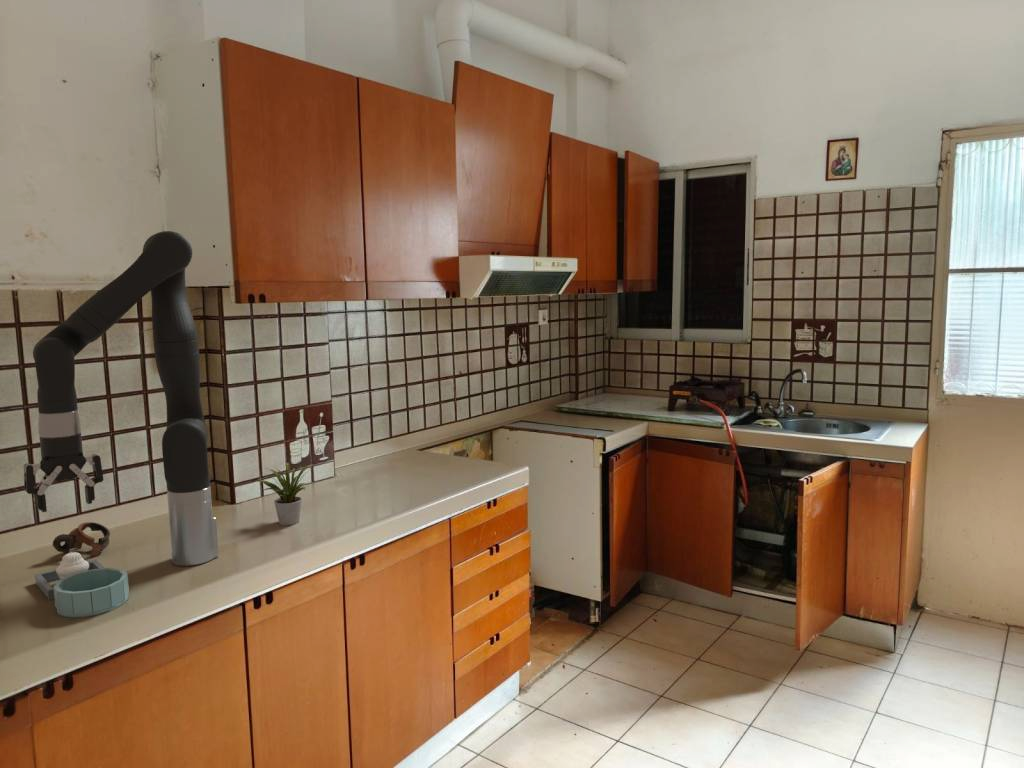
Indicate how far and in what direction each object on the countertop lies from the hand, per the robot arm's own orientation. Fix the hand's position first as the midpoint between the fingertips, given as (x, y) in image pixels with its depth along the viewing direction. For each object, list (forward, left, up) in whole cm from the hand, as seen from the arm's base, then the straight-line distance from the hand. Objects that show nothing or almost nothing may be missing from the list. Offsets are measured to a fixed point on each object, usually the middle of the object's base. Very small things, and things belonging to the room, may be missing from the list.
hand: (66, 507), depth 158 cm
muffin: (0, 0, -17) cm, 17 cm away
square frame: (0, 0, -17) cm, 17 cm away
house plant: (-54, -6, -17) cm, 57 cm away
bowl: (0, +15, -17) cm, 22 cm away
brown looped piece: (-6, -19, -17) cm, 26 cm away
